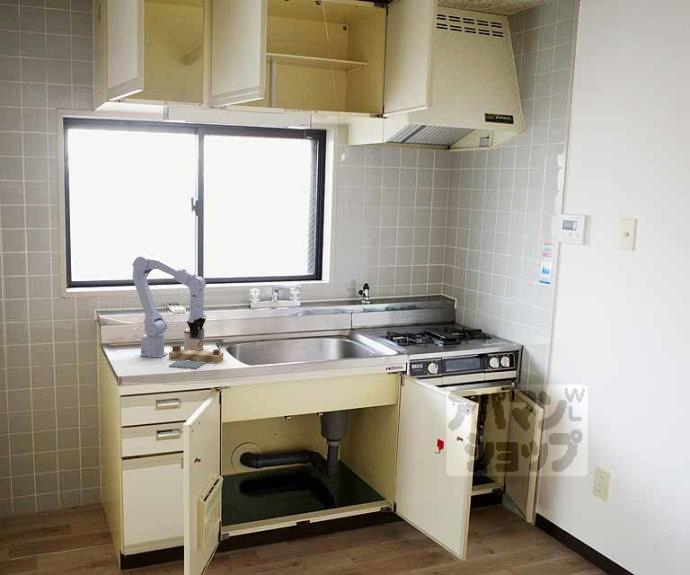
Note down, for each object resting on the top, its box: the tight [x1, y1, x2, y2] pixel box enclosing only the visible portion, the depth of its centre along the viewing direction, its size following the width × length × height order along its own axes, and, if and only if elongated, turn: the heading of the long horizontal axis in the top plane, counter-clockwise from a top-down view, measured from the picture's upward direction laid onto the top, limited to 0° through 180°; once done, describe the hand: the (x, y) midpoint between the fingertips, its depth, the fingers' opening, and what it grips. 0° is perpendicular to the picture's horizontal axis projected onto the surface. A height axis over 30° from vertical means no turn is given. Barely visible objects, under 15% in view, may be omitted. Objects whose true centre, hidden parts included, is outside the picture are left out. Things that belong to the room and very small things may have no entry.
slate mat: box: [168, 360, 206, 370], centre depth 302 cm, size 12×10×1 cm
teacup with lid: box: [183, 327, 204, 351], centre depth 331 cm, size 12×9×12 cm
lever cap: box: [189, 327, 205, 340], centre depth 311 cm, size 5×4×5 cm
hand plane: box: [168, 344, 224, 364], centre depth 312 cm, size 22×7×5 cm, turn 82°
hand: (196, 335), depth 311 cm, fingers closed on lever cap, 4 cm apart
